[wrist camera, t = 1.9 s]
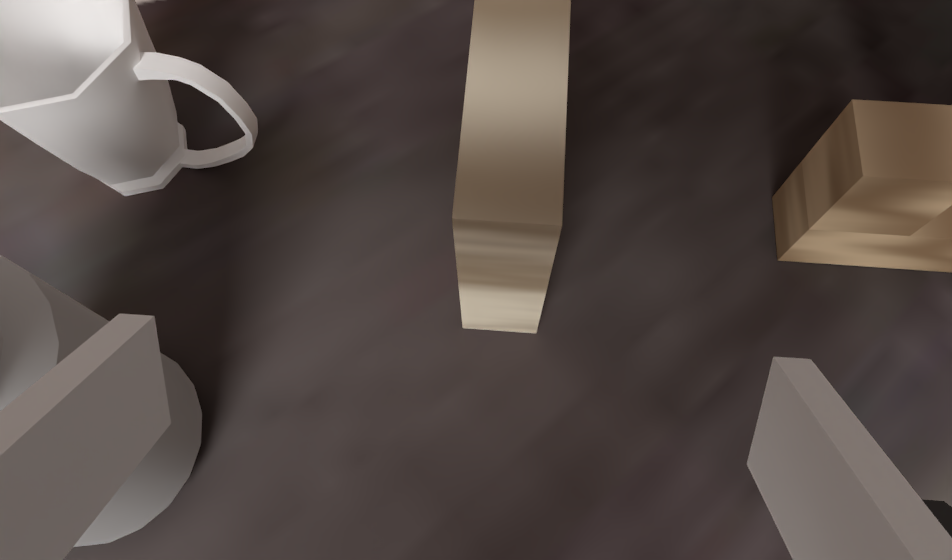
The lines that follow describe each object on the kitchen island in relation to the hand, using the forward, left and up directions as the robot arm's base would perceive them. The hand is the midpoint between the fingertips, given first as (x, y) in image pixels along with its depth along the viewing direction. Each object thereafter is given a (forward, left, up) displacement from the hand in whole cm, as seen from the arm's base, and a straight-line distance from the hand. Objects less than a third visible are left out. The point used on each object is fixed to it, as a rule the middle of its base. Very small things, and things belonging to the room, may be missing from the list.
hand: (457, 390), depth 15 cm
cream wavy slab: (+2, -11, -12) cm, 17 cm away
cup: (+17, -8, -12) cm, 23 cm away
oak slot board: (-15, -15, -12) cm, 24 cm away
